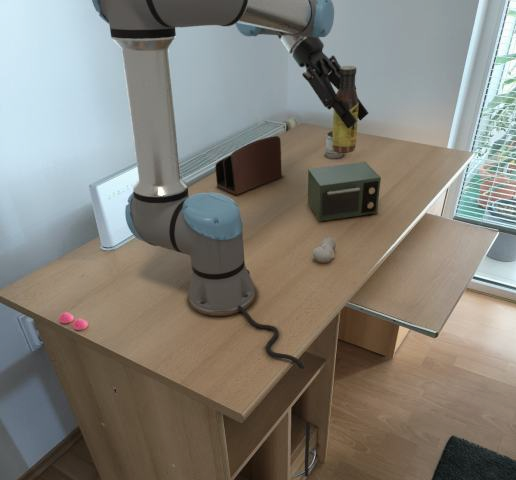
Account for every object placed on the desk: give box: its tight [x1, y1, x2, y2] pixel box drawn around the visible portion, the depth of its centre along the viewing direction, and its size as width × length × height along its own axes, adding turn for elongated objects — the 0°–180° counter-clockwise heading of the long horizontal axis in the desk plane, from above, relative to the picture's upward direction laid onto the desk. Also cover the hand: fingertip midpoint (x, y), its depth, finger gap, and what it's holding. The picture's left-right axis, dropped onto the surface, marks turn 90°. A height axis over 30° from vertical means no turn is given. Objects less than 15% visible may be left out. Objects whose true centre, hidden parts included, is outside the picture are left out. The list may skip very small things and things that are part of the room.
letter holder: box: [214, 135, 283, 196], centre depth 162 cm, size 10×20×14 cm, turn 131°
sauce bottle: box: [332, 65, 359, 154], centre depth 129 cm, size 6×6×20 cm
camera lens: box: [325, 130, 344, 159], centre depth 177 cm, size 6×6×8 cm
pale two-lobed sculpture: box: [312, 237, 337, 264], centre depth 127 cm, size 4×8×5 cm
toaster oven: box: [307, 161, 382, 223], centre depth 143 cm, size 14×17×11 cm
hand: (358, 120), depth 129 cm, fingers closed on sauce bottle, 6 cm apart
